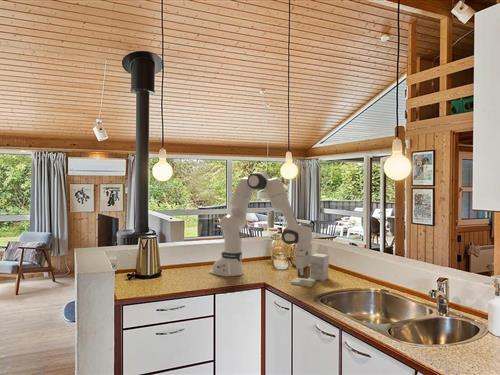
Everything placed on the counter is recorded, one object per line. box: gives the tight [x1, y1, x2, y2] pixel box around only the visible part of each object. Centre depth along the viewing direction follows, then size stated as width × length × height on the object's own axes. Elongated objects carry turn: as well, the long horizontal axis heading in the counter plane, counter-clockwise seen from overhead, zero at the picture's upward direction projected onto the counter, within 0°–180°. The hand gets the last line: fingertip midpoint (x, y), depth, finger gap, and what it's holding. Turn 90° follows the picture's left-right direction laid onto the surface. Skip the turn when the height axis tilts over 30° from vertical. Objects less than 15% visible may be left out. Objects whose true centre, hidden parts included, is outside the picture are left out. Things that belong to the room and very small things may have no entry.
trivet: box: [290, 276, 317, 288], centre depth 238 cm, size 12×12×2 cm
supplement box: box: [309, 253, 330, 282], centre depth 249 cm, size 9×9×15 cm
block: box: [297, 265, 311, 279], centre depth 238 cm, size 6×6×6 cm
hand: (303, 273), depth 238 cm, fingers closed on block, 6 cm apart
